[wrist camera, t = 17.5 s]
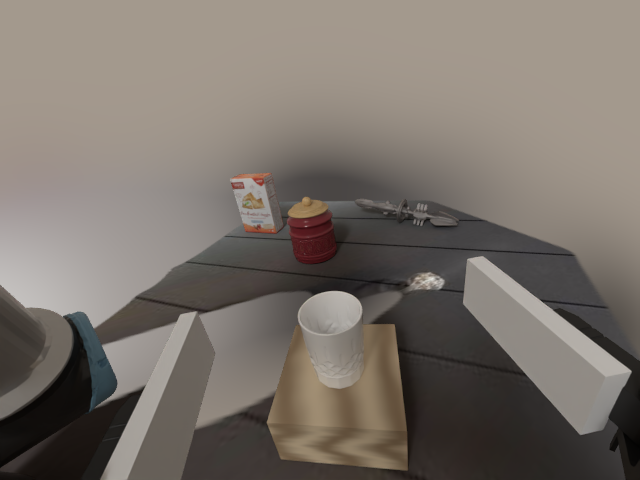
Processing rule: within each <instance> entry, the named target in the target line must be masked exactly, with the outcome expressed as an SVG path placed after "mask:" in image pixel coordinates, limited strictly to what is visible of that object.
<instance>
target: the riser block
mask: <svg viewBox="0 0 640 480" xmlns="http://www.w3.org/2000/svg"><path fill="white" fill-rule="evenodd" d="M363 332H364V354H363V359H364V370H363V373H362V375H361V377H360V379H359V380H358V381H357V382H355V383H354V384H353V385H352V386H349V387H346V388H342V389H336V388H329V387H327V386H326V385H324V384H323V383H321V382H320V381H319V379H318V377H317V375H316V373H315V370H314V367H313V364H312V362H311V359H310V356H309V353H308V350H307V347H306V344H305V341H304V337H303V334H302V331H301V327H300V325H296V327H295V331H294V334H293V337H292V341H291V344H290V347H289V351H288V354H287V358H286V361H285V364H284V367H283V371H282V374H281V377H280V381H279V384H278V387H277V391H276V394H275V397H274V401H273V404H272V407H271V411H270V414H269V417H268V421H267V424H268V427H269V429H270V432H271V435H272V437H273V440H274V442H275V445H276V448H277V450H278V453H279V455H280V458H281V459H284V460H295V461H306V462H317V463H328V464H340V465H351V466H362V467H373V468H385V469H396V470H407V471H408V452H407V427H406V419H405V410H404V401H403V393H402V384H401V376H400V367H399V358H398V350H397V341H396V333H395V324H363Z"/></svg>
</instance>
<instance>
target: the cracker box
mask: <svg viewBox="0 0 640 480" xmlns="http://www.w3.org/2000/svg"><path fill="white" fill-rule="evenodd" d="M230 180H231V184H232V187H233V190H234V194H235V197H236V200H237V204H238V207H239V211H240V214H241V218H242V221H243V224H244V228H245V231H246V232H261V233H277V232H279V231H280V230H281V229H282V228H283V227H284V226H283V221H282V217H281V212H280V208H279V204H278V199H277V196H276V190H275V186H274V182H273V177H272V174H271V173H264V174H240V175H237V176H235V177H233V178H231V179H230Z"/></svg>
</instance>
